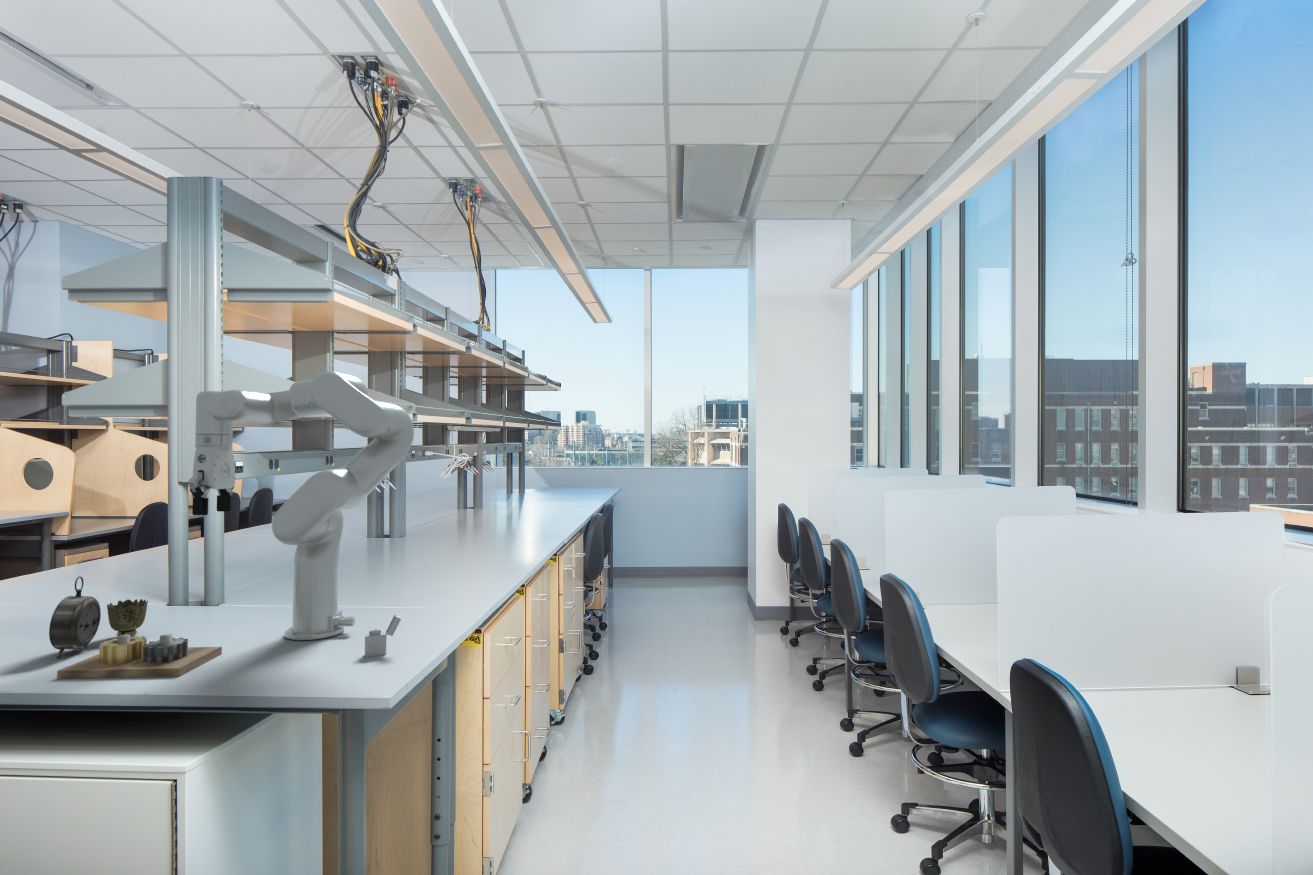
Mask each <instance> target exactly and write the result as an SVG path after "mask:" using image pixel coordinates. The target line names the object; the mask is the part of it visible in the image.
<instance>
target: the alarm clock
mask: <svg viewBox="0 0 1313 875" xmlns="http://www.w3.org/2000/svg"><path fill="white" fill-rule="evenodd" d="M79 579H81V586H80V588H77V583H78V580H79ZM83 589H84V578H83V577H82V576H81V575H78V576H77V577H76V579H75V581H74V591H75V593H76V594H75V595H68V596H66V597H65V598H63V599H61V600H60V601H59V603H58V604H57V606H56V607H55V608H54V611H53V614H52V616H51V619H50V623H49V627H48V628H49V630H48V631H49V632H48V636H49V642H50V644H51V646H52V647H53V648H55V649H56V650H59V652H58V655H57V656H56V659H61V658H62V655H63V653H64V652H65V650H80V649H83V648H84V649H85V650H86V651H87V652H90V649H89V647H88V644H90V642H92V640H93V639H94V637H95V636H96V634H97V633H98V630H99V627H100V622H101V606H100V602H99V600H97V599H96V597H93V596H90V595H87V596H86V595H82V593H83V592H82V591H83Z"/></svg>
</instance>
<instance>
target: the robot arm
mask: <svg viewBox="0 0 1313 875" xmlns="http://www.w3.org/2000/svg"><path fill="white" fill-rule="evenodd" d="M195 400H196V401H195V433H194V434H195V436H194V437H195V438H194V439H195V440H194V443H195V444H194V449H195V451H194V452H195V453H194V458H193V466H192V476H191V477H190V478H189V479H188V485H189V491H190V494H191V495H190V496H191V498H192V509H191V510H192V513H191V514H192V515H193V516H207V515H209V497H208V495H209V493H210V491H211V489H212V490H216V492H217V493H218V495H216V511H217V512H232V496H233V494H234V491H233V489H234V488H235V485H236V470H235V468H236V467H235V466H236V465H235V456H234V449H233V437H234V436H233V433H234V432H233V431H234V430H233V429H234V427H233V426H234V422H241V423H242V422H243V423H257V424H261V423H262V424H265V423H267V424H269V423H275V422H284V421H291V420H295V419H296V420H297V419H300V418H304V417H309V416H317V415H318V416H319V415H323V414H325V415H326V414H328V415H329V416H331V417H332V418H334V419H335V420H336V421H338V422H339V423H340V424H341V425H343V426H344V427H346V428H347V429H348V430H349V431H351V432H353V434H356V435H358V436H360V437H363V438H370V439H372V440H371V442H369V443H368V444H367V445H365V446H363V447H362V448H361V449H359V451H357V453H356V454H355V455H354V456H353V457H352V458H351V459H350V460H349V461H348V462H346V464H344V465H343V466H342V467H339V468H331V469H324V470H320V471H318V472H317V473H314V474H313V475H312V476H310V477H309V478H308V479H307V480H306V481H305V482H304V483H303V484H302V485H301V486H300V487H298V489H297V490H296V491H295V492H294V493H293V494H291V496H290V497H289V498H288V499H287V500H286V501H285V502H284V503H283V504H281V506H280V508H278V510H277V511H276V513H275V514H274V516H273V519H272V522H271V523H272V524H271V528H272V529H271V530H272V534H273V536H274V538H275V539H276V540H277V541H278V542H280V543H282V544H284V545H287V546H296V548H295V553H294V557H293V558H294V560H293V578H292V579H293V586H292V588H293V590H292V591H293V592H292V626H291V627H290V628H287V629H286V630H284V637H285V638H286V639H288V640H292V641H293V640H294V641H311V640H320V639H321V640H322V639H327V638H330V637H333V636H337V635H339V634H342V633H343V632H344V631H345V627H354V626H355V623H356V619H355V618H354V617H353V616H343V614H342V610H338V609H339V608H338V604H339V603H338V601H339V596H338V595H339V563H340V557H339V556H340V544H341V538H342V535H343V528H344V514H343V513H342V511H343V510H347V509H348V510H349V509H352V508H355V507H357V506H359V505H361V504H362V502H364V501H365V500H366V498H367V497H368V496H369V495H370V494H371V493H372V492H373V491H374V490H375V489H376V488H377V487H378V486H379V485H380V484H381V483H382V482H383V481H384V479H385V478H386V477H387V476H388V475H389V474H390V473H391V472H392V471H393V470H394V469H395V468H396V467H397V466H398V465H399V464H400V463H401V462H402V460H403V459H404V458H405V457H406V456H407V454H408V453H409V451H410V449H411V448H412V445H413V441H414V437H415V436H414V434H415V429H414V423H413V420H412V417H411V416H410V414H409V413H408V412H407V411H406V410H405V409H404V408H402V407H401V406H399V405H397V404H394V403H389V402H382V401H376V400H373V399H372V398H371V397H369V396H368V388H367V386H366V384H365V382H363V380H361V379H360V378H358V377H357V376H354V375H351V374H346V373H342V372H337V371H324V372H322V373H320V374H318V375H316V376H315V378H313V379H306V380H305V379H304V380H299V381H295V382H293V383H292V384H291V385H290V388H289V390H288V389H287V390H283V391H275V392H258V391H251V390H244V389H230V390H224V391H218V390H217V391H216V390H204V391H200V392H198V393H197V394H196V399H195ZM341 510H342V511H341Z"/></svg>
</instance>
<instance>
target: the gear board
mask: <svg viewBox="0 0 1313 875" xmlns="http://www.w3.org/2000/svg"><path fill="white" fill-rule="evenodd" d="M116 639H117V644H120V643H127V642H130V635H120V636H117V638H116ZM222 651H223V647H222V646H197V647H196V646H195V647H194V646H193V647H190V646H189V639H188V638H184V637H178V638H175V637H173V634H172V633H163V634H161V635H159V639H158V640H155V641H153V640H152V641H149V642H148V643H146V644H144V645H143V658H142V659H136V661H132V662H131V661H128V662H124V663H120V664H119V663H113V664H108V663H104V664H101V662H99V653H97V654H95V655H92V656H90V657H88V658H85V659H83V660H81V661H78V662H76V663H73V664H71V665H67V666H65V667H63V668H61V669H59V670H58V669H57V671H56V673H57V674H56V679H59V680H64V679H100V678H101V679H103V678H104V679H106V678H107V679H108V678H144V677H145V678H147V677H148V678H149V677H150V678H154V677H158V678H159V677H182V676H183V675H185V674H188V672H190V671H192V670H195V669H196V668H198V667H200V666H201V665H203V664H206V663H208V662H209V661H211V660H213V659H215V658H216V657H219V656H220V655H222V653H223V652H222Z"/></svg>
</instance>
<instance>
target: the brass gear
mask: <svg viewBox="0 0 1313 875" xmlns="http://www.w3.org/2000/svg"><path fill="white" fill-rule="evenodd" d="M144 644H147V637H146V636H143V635H142V636H138V635H135V636H133V637H130V642H127V643H120V644H117V638H116V637H115V638H111V639H110V640H104V641H102V642H100V643H99V653H98V654H99V662H101V664H104V663H108V664H113V663H119V664H120V663H124V662H128V661H131V662H132V661H136V659H142V658H143V645H144Z"/></svg>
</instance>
